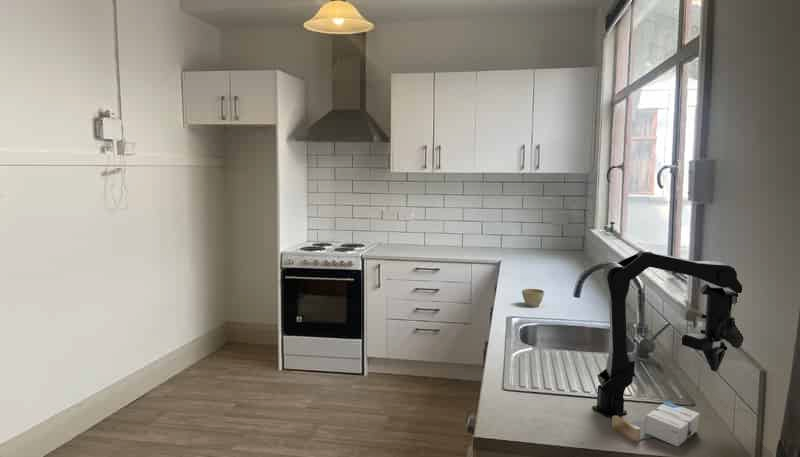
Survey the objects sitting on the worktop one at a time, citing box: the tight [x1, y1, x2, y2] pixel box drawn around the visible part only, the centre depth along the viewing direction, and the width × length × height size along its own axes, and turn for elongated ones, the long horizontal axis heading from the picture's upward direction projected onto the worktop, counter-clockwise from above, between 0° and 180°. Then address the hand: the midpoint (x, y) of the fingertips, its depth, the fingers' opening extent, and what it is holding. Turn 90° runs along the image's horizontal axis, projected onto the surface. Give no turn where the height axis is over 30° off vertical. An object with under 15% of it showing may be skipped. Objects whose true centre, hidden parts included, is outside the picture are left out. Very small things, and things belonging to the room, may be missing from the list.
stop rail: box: [611, 415, 641, 442], centre depth 146 cm, size 8×1×3 cm, turn 23°
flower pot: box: [521, 288, 545, 308], centre depth 276 cm, size 10×10×7 cm
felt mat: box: [629, 418, 655, 441], centre depth 149 cm, size 8×13×1 cm, turn 114°
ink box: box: [644, 401, 701, 447], centre depth 146 cm, size 8×5×12 cm
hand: (714, 370), depth 154 cm, fingers closed
